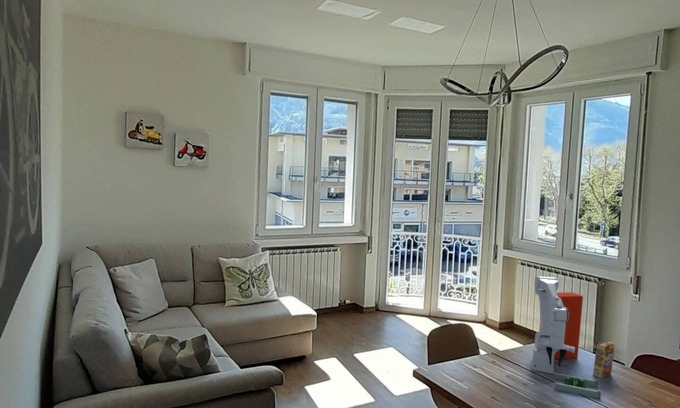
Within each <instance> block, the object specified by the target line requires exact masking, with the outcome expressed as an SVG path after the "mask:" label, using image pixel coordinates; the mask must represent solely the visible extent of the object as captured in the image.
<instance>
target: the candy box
mask: <svg viewBox="0 0 680 408" xmlns="http://www.w3.org/2000/svg"><path fill="white" fill-rule="evenodd" d="M615 346H616V344H615V343H614V342H611V341H607V340H606V341H603V342H599V343H596V349H595V350H596V351H595V356H594V357H595V358H594V362H593V363H594V364H593V370H592V371H593V372H592V375H593V376H595V377H596V378H599V379H603V378H605V377H608V376H610V375H612V368H613V363H614V353H615Z"/></svg>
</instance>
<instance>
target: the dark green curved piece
mask: <svg viewBox="0 0 680 408" xmlns="http://www.w3.org/2000/svg"><path fill="white" fill-rule="evenodd" d="M563 384H566V385H571V386H576V387H581V388H586V389H588V387H587V385H585V382H584V381H583V379H581V380H576V379H569V377H566V379H565V381H563Z"/></svg>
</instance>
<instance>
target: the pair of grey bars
mask: <svg viewBox="0 0 680 408" xmlns="http://www.w3.org/2000/svg"><path fill="white" fill-rule="evenodd" d="M566 377H569V379H576V380H581V379H583V381H584V382H585V385H586V386H589V387H594V388H598V386H599V379H590V378H584V377H581V376H580V377H579V376H575V375H569V374H564V373H559V372H555V371H554V374H553V379H554V380H557V381H563V382H564V381H565V379H566ZM554 390H558V391H563V392H568V393H572V394H577V395H582V396H587V397H592V398H598V399H601V395H602V390H600V389H597V390H595V389H589V388H587V389H586V388H581V387H576V386H571V385H566V384H564V383H560V382H556V381H555V382H554Z"/></svg>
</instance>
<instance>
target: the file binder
mask: <svg viewBox="0 0 680 408" xmlns="http://www.w3.org/2000/svg"><path fill="white" fill-rule="evenodd" d="M557 296H558V297H560V298H561V300H562V303H563V306H564V307H566V308H567V309H568V313H569V318H568V321H567V322H566V326H565V337H564V345H568V346H572V347H575V352H574V353H573V352H570V351H566V355H565V356H564V358H563V359H577V358H578V356H579V344H580V335H581V334H580V333H581V322H582V313H583V312H582V311H583V301H584V296H583V295H581V294H579V293H575V292H571V291H570V292H557ZM539 325H540V326H539V331H540V330H541V323H540V324H539ZM559 354H560V350H558V351H557V352H556V354H554V360H556V359H557V360H559Z"/></svg>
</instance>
